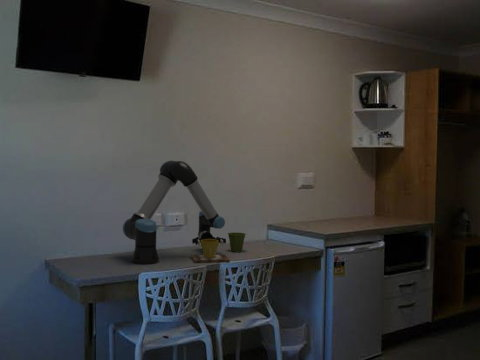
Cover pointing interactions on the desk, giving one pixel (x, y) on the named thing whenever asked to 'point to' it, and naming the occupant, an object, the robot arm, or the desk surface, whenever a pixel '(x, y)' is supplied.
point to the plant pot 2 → (236, 241)
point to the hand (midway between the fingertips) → (211, 243)
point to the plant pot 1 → (209, 247)
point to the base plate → (209, 259)
